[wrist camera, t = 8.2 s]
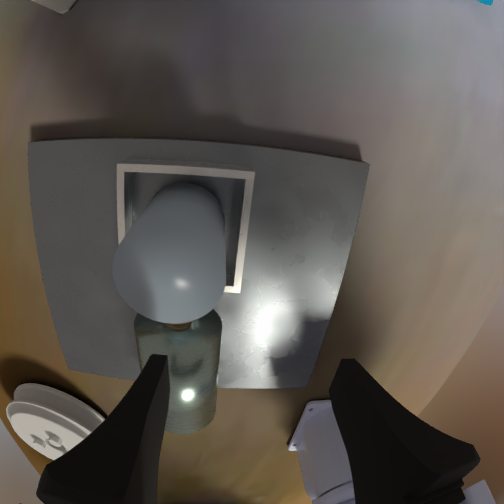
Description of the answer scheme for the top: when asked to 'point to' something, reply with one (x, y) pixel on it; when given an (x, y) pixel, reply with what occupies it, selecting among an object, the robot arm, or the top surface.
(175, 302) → the grey rounded capsule
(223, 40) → the top surface
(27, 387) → the lid
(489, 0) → the teal bumpy piece
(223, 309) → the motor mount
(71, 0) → the tall pale column
